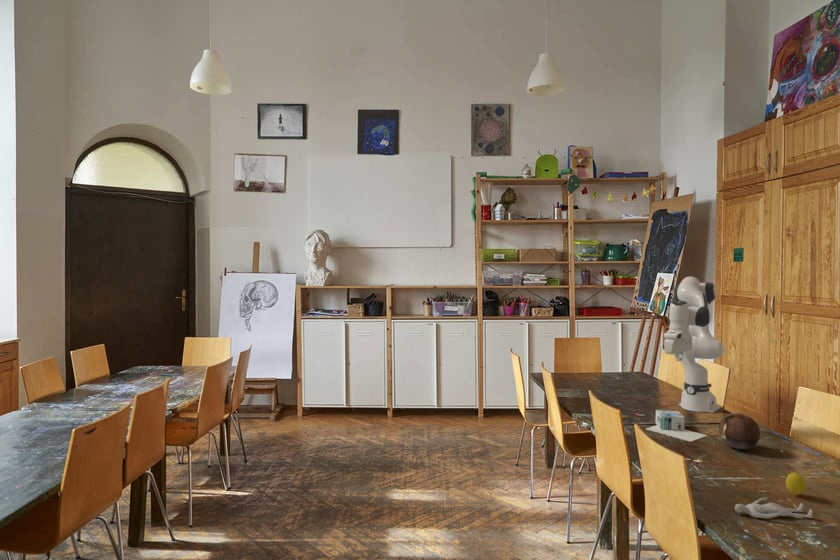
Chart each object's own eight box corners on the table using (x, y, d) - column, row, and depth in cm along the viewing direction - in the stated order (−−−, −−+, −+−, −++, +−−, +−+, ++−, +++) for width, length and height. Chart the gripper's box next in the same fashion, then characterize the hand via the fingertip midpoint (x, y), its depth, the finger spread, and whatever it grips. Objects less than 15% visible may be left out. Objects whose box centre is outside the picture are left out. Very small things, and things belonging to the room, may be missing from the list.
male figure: (818, 511, 156) (744, 510, 157) (818, 524, 156) (744, 523, 157) (795, 496, 166) (726, 496, 167) (795, 508, 166) (726, 507, 167)
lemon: (781, 492, 177) (781, 469, 177) (796, 491, 178) (796, 469, 177) (794, 499, 172) (794, 476, 171) (809, 498, 172) (810, 475, 172)
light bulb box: (685, 417, 243) (660, 415, 245) (684, 431, 243) (660, 429, 245) (678, 410, 253) (655, 409, 256) (678, 424, 254) (655, 422, 256)
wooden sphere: (754, 444, 225) (754, 410, 225) (764, 456, 211) (765, 420, 210) (715, 440, 230) (715, 407, 230) (723, 452, 216) (723, 417, 215)
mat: (662, 424, 255) (662, 423, 255) (707, 436, 236) (707, 435, 236) (645, 429, 247) (645, 428, 247) (691, 441, 229) (690, 441, 229)
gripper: (683, 330, 264) (683, 357, 264) (661, 334, 252) (661, 362, 253) (696, 332, 259) (695, 359, 259) (674, 336, 247) (674, 364, 248)
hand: (678, 360), depth 256 cm, fingers closed
